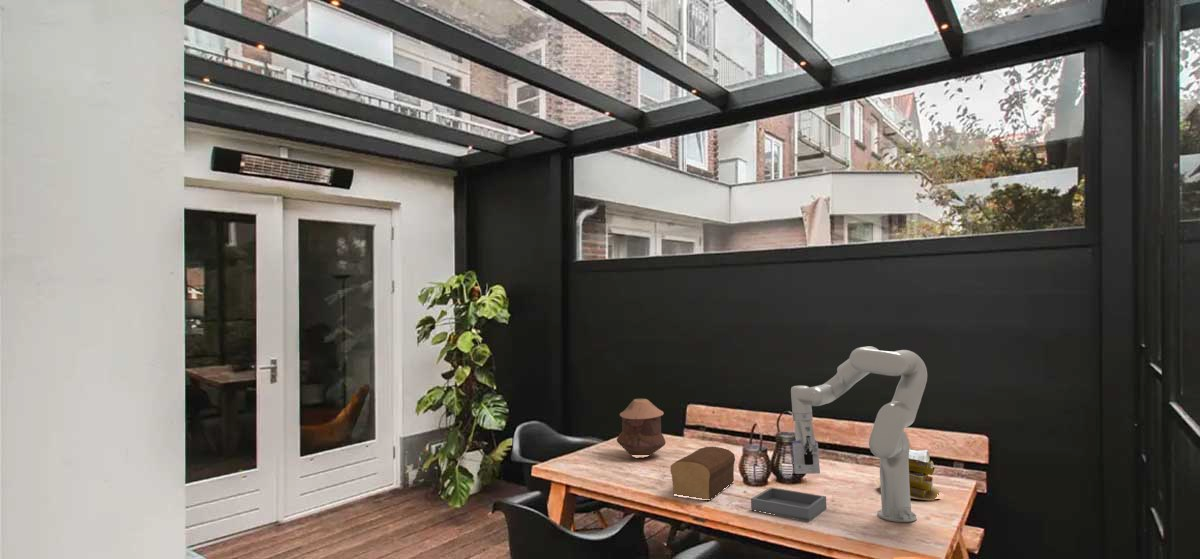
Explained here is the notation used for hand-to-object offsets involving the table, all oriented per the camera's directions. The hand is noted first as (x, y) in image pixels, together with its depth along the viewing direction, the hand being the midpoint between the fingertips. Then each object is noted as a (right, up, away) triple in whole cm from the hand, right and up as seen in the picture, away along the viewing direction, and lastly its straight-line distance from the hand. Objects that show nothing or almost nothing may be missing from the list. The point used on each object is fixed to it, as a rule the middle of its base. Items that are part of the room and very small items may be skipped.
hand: (806, 462), depth 246 cm
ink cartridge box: (0, -4, 0) cm, 4 cm away
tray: (-11, -14, -13) cm, 22 cm away
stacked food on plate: (+43, -14, +4) cm, 46 cm away
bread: (-38, -17, +15) cm, 44 cm away
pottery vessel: (-60, -21, +79) cm, 101 cm away
